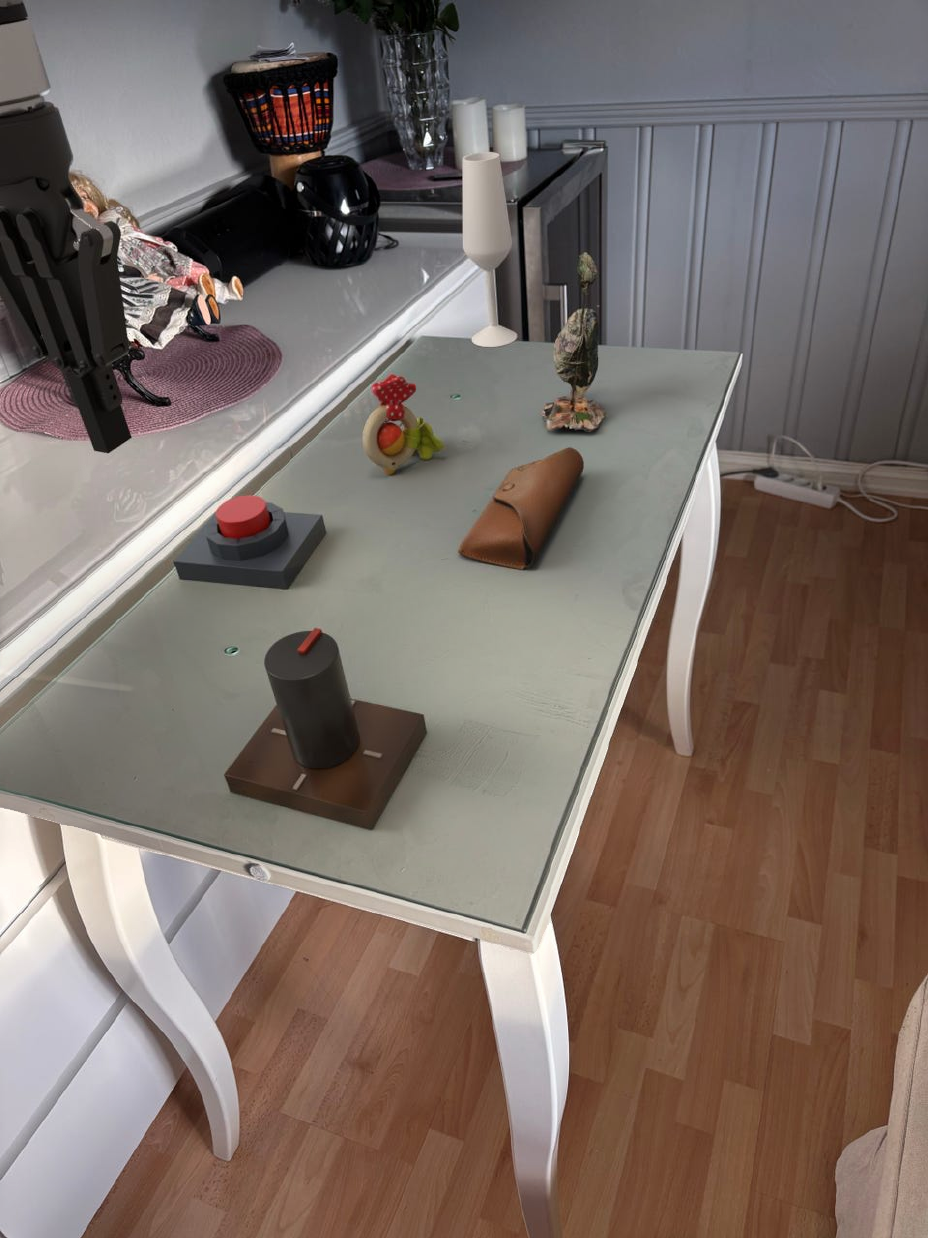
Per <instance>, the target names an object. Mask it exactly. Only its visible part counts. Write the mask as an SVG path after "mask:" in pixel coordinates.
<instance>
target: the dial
mask: <svg viewBox="0 0 928 1238" xmlns="http://www.w3.org/2000/svg"><path fill="white" fill-rule="evenodd" d="M263 664H264V668H265V671H266V675H267V678H268V682H269V685H270V689H271V691H272V694H273V697H274V700H275V705H276V704H277V707H278V710H279V713H280V717H281V720H282V723H283V726H284V729H285V733H286V736H287V739H288V742H289V745H290V748H291V752H292V755H293V757H294V758H295V760H296V761H297V762H298V763H300V764H301V765H303V766H305V767H308V768H314V769H324V768H329V767H333V766H336V765H338V764H340V763H342V762H344V761H345V760H347V759H348V758H349V757H350V756H351V755H352V754H353V753H354V752H355V751H356V749H357V747H358V744H359V739H360V736H359V731H358V727H357V723H356V719H355V715H354V710H353V706H352V702H351V699H352V698H351V694H350V691H349V686H348V682H347V678H346V674H345V671H344V665H343V661H342V656H341V653H340V649H339V645H338V643H337V641H336V639H335V638H334V637H332V636H331V635H330V634H327V633H326V632H323V630H322V628H317V627H314V628H313V629H312V630H302V631H297V632H293V633H290V634H288V635H287V634H286V635H285V636H283V637H281V638H280V639H278V640H277V641H275V642H274V643H273V644H272V645H271V646H270V647H269V648H268V650H267V651H266V652H265V655H264V660H263Z"/></svg>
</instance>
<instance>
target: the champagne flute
mask: <svg viewBox="0 0 928 1238" xmlns="http://www.w3.org/2000/svg"><path fill="white" fill-rule="evenodd" d="M501 165H502V164H501V158H500V154H499V153H498V152H495V151H483V152H482V151H481V152H475V153H474V152H473V153H470V154H466V155H465V156H463V157H462V249H463V252H464V254H465V255H466V257H467V258H468V259H469V261H471V262H472V263H473V264H474V265H476V266H477V267H478V268H479V269H481V270H483V271H484V274H485V275H484V276H485V285H486V300H487V312H488V314H487V315H488V325H487V326H485V327H484V328H482V329H481V330H480V331H478V332H476V333H475V334H474V335H473V336H472V337H471V342H472V343H473V344H474V345H475V346H477V347H478V346H479V347H484V348H497V347H502V346H506V345H509V344H511V343H513V342H515V341H516V340H517V339H518V333H517V332H515V331H514V330H512V329H509V328H507V327H506V326H502V325H500V324H498V312H497V300H496V299H497V297H496V284H495V271H494V270H495V269H497V268H498V267H499V266H500V265H501V264H502V263H503V262H504V261H505V259H506V258H507V257H508V255H509V253H510V251H511V249H512V246H513V239H512V232H511V225H510V219H509V212H508V205H507V199H506V192H505V185H504V177H503V172H502V166H501Z"/></svg>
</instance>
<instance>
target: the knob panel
mask: <svg viewBox="0 0 928 1238" xmlns="http://www.w3.org/2000/svg"><path fill="white" fill-rule="evenodd" d="M351 702H352V706H353V710H354V715H355V719H356V723H357V727H358V731H359V736H360V739H359V744H358V747H357V749H356V751H355V752H354V753H353V754H352V755H351V756H350V757H349V758H348V759H347V760H345V761H344V762H342V763H340V764H338V765H336V766H333V767H329V768H324V769H314V768H308V767H305V766H303V765H301V764H300V763H298V762H297V761H296V760H295V758H294V757H293V755H292V752H291V748H290V745H289V742H288V739H287V736H286V733H285V729H284V726H283V723H282V720H281V717H280V713H279V710H278V707H277V704H276V703H275V706H274V707H273V708H272V710H271V711H270V712H269V714H268V715H267V716H266V718H265V719H264V720H263V722H262V723H261V724H260V726H259V727H258V728H257V730H256V731H255V733H254V734H253V735H252V736H251V738H250V739H249V741H248V742H246V744H245V745H244V747H243V748H242V750H241V751H240V752H239V754H238V755H237V757H235V759H234V760H233V762H232V763H231V764H230V765H229V767H228V768H227V770H226V771H225V773H224V774H223V776H224V778H225V779H224V780H225V781H226V784H227V786H228V789H229V792H230V793H234V794H237V795H241V796H245V797H248V798H251V799H255V800H258V801H262V802H267V803H270V804H273V805H277V806H281V807H285V808H288V809H292V810H296V811H300V812H303V813H306V814H307V813H308V814H309V815H310V814H311V815H314V816H319V817H322V818H326V819H328V820H333V821H337V822H340V823H344V824H348V825H350V826H355V827H359V828H362V829H366V830H370V831H372V830H373V829H374V828H375V825H376V823H377V822H378V820H379V818H380V817H381V815H382V812H383V811H384V809H385V807H386V805H387V804H388V802H389V800H390V799H391V797H392V795H393V793H394V792H395V789H396V787H397V786H398V785H399V782H400V780H401V779H402V777H403V776H404V774H405V771H406V770H407V768H408V767H409V764H410V763H411V761H412V760H413V758H414V756H415V754H416V752H417V751H418V748H419V747H420V745H421V743H422V742H423V740H424V738H425V736H426V734H427V732H428V731H427V725H426V718H425V715H424V714H423V713H419V712H415V711H410V710H405V709H401V708H397V707H396V708H395V707H392V706H387V705H383V704H378V703H373V702H368V701H363V700H359V699H355V698H351Z"/></svg>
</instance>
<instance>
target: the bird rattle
mask: <svg viewBox="0 0 928 1238" xmlns="http://www.w3.org/2000/svg"><path fill="white" fill-rule="evenodd" d="M371 390H372V393H373V395H374V396H375V398H377V400H378V401H379V402H380V404H379V405H378V407H377V408H376V409H375V410H374V411H373V412H372V413H370V415H369V417H368V418H367V420H366V422H365V425H364V427H363V431H362V446H363V449H364V452H365V454H366V456H367V457H368V459H369V460H370V461H371V462H372V463H373V464H374V465H376V466H378V467H380V468H382V469H383V471H384V473H386V474H387V475H393V474H394V473H395V472H396V470H397V469H399V467H402V466H403V465H404V464H406V463H407V462H409V460H410V459H411V457H412V456H413V455H414V453H415V452H416V450H417V453H418V456H419V457H420V458H421V459H422V460H425V461H427V460H428V461H429V460H430V459H431V458H432V457H433V454H434V452H441V451H442V450H443V449H444V447H445V444H444V442H443V441H441V439H439V438H438V437H437V436H435V435H434V431H433V428H432V426H431V425H430V423H429V422H424V418H423V417H418V418H417V417H416V415H415V414H414V413H413V412H412V410H411V409H409V407H407V406H405V405H404V404H403V403H404V402H406V401H407V400H408V399H409V398H411V397H412V396H413V395H414V394H415V392H416V391H417V385H416V384H415V383H412V382H411V383H409V382H407V380H406V378H405V377H404V376H401V375H400V376H397V375H395V374H392V373H391V374H389V375H388V376H387V377H386V378H385V379H384V380H383V381H380V382H379V381H377V382H375V383H373V384H372V386H371ZM395 422H400V424H399V425H398V424H397V423H395ZM402 425H403V428H401V427H402Z"/></svg>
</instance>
